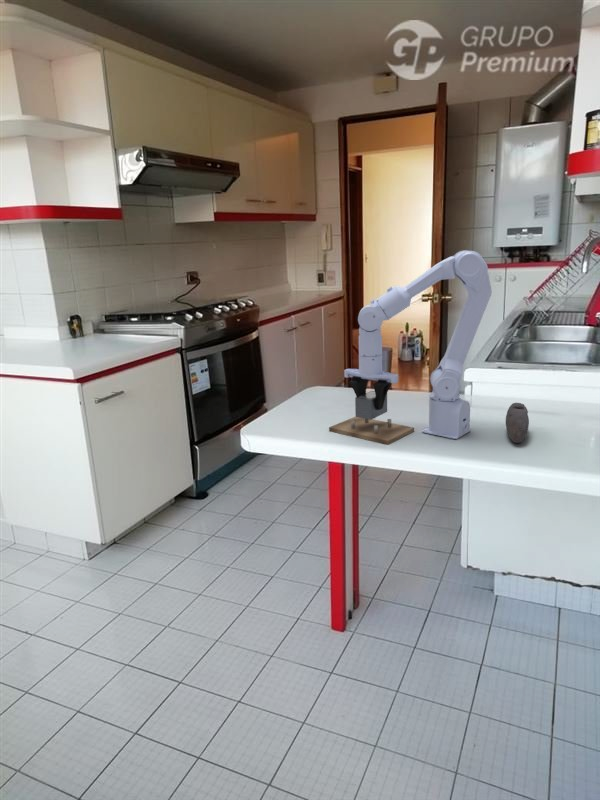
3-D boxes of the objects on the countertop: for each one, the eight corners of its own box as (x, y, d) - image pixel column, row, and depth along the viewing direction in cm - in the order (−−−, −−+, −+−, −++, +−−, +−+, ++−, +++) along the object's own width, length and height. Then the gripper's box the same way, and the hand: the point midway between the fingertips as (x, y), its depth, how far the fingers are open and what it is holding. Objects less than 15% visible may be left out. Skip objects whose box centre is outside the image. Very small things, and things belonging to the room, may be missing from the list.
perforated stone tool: (527, 448, 127) (529, 419, 126) (503, 446, 129) (504, 418, 128) (528, 428, 141) (529, 402, 139) (505, 427, 143) (507, 400, 141)
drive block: (387, 411, 145) (387, 392, 143) (370, 419, 139) (370, 399, 137) (372, 409, 147) (372, 390, 146) (355, 416, 141) (355, 397, 140)
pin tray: (414, 431, 142) (414, 420, 142) (387, 444, 134) (387, 432, 133) (356, 419, 154) (356, 409, 153) (329, 431, 146) (328, 419, 145)
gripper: (404, 354, 137) (404, 407, 141) (354, 349, 146) (355, 400, 150) (390, 359, 132) (390, 414, 136) (339, 354, 141) (340, 406, 144)
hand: (370, 407), depth 142 cm, fingers closed on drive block, 4 cm apart
